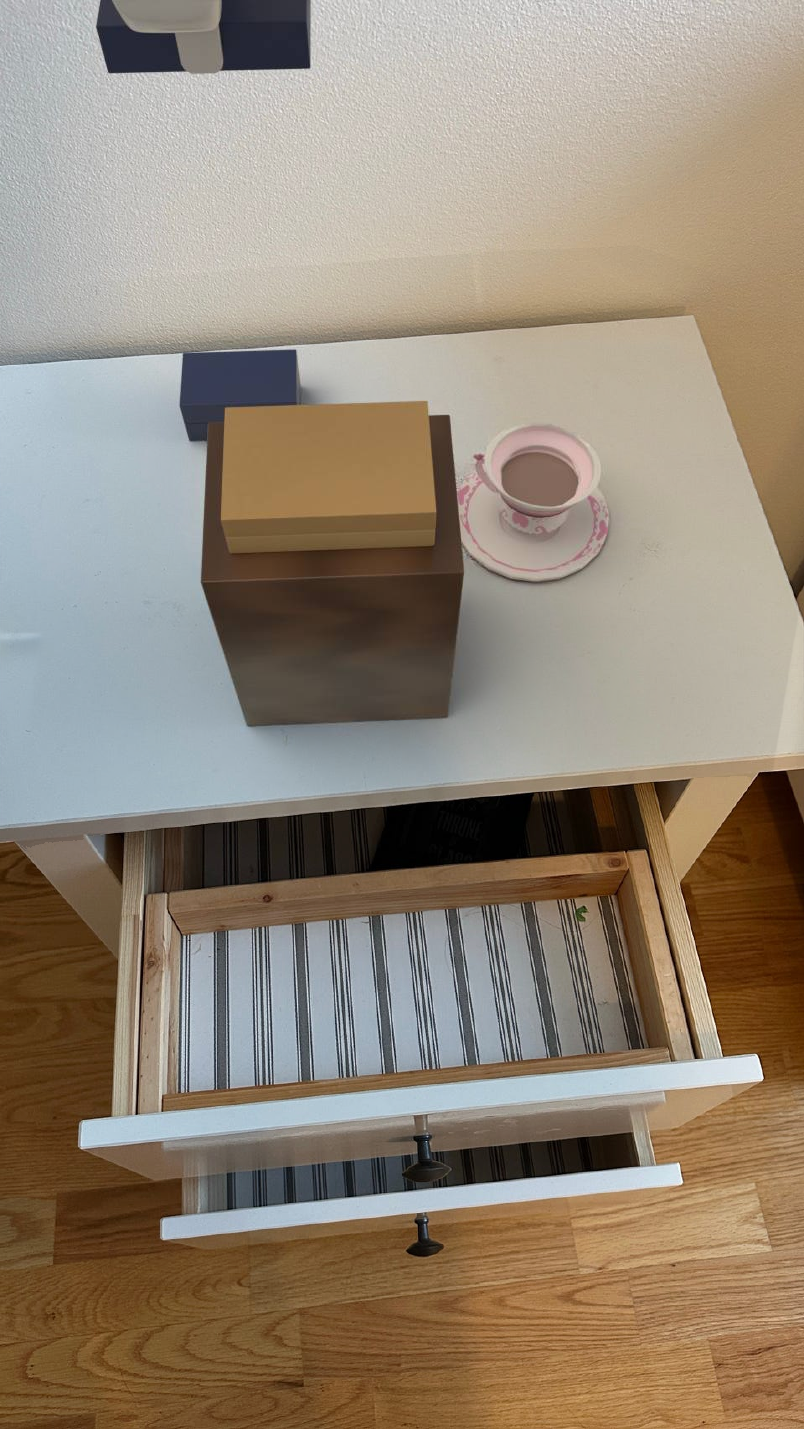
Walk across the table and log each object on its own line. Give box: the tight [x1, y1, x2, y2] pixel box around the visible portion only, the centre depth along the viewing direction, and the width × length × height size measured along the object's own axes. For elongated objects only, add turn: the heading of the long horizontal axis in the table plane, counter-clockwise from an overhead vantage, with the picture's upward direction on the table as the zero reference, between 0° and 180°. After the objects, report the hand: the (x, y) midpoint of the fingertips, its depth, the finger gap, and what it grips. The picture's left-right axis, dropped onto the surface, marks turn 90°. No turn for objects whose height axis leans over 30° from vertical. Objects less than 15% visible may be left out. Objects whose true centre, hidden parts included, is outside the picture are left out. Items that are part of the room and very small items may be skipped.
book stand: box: [200, 414, 465, 727], centre depth 62 cm, size 14×11×18 cm
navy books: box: [179, 348, 302, 442], centre depth 78 cm, size 9×6×4 cm, turn 93°
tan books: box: [221, 400, 436, 554], centre depth 53 cm, size 11×8×3 cm
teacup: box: [457, 422, 610, 583], centre depth 73 cm, size 12×12×6 cm
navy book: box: [95, 0, 312, 74], centre depth 44 cm, size 9×6×2 cm, turn 92°
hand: (208, 18), depth 44 cm, fingers closed on navy book, 5 cm apart
